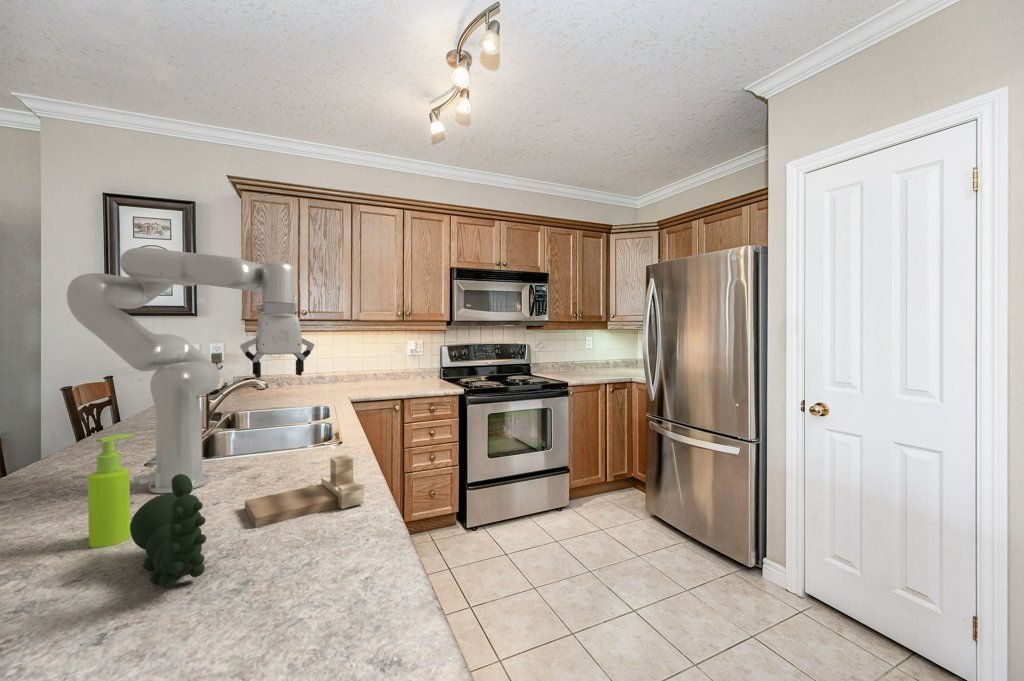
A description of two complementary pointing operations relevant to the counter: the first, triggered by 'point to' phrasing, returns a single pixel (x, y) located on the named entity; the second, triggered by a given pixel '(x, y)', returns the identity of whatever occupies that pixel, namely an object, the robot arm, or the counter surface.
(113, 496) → the soap dispenser
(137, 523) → the toy figurine
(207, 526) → the counter surface
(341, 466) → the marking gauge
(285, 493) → the walnut board
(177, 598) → the counter surface
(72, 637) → the counter surface
